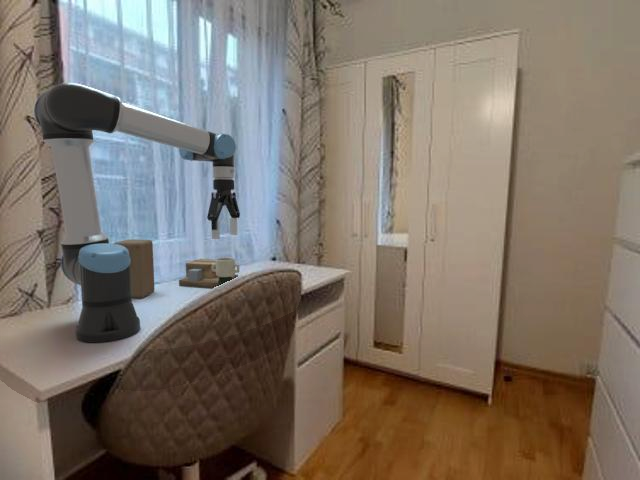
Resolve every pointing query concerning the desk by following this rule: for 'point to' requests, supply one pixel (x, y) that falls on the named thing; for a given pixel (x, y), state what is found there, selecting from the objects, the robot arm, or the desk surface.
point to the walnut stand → (208, 275)
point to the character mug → (225, 269)
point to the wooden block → (140, 266)
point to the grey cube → (195, 274)
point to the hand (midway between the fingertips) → (225, 236)
